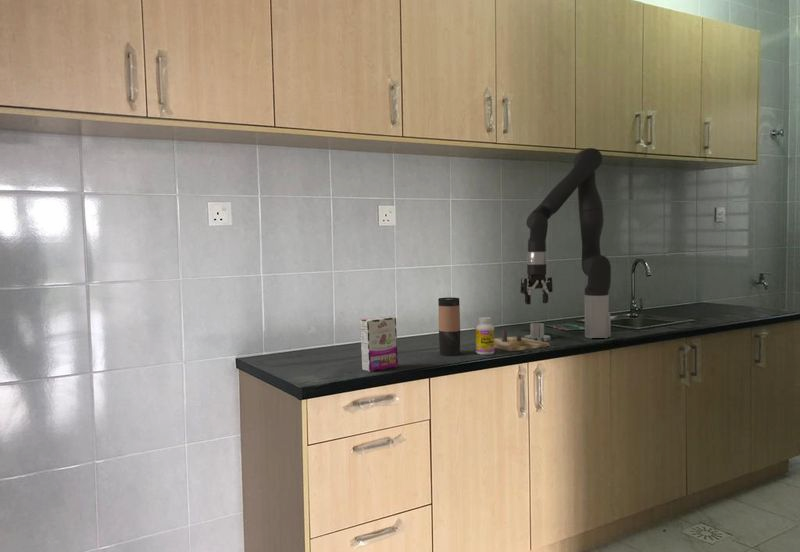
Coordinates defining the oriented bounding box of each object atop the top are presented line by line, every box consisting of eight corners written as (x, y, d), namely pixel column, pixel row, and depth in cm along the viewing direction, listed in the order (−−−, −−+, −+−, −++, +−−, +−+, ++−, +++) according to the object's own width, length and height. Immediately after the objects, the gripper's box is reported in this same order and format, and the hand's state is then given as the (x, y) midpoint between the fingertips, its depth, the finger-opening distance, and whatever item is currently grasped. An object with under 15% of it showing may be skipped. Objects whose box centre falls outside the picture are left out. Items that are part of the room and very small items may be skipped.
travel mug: (464, 353, 229) (463, 297, 228) (454, 356, 223) (452, 299, 221) (446, 351, 233) (444, 297, 232) (435, 355, 227) (434, 299, 226)
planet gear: (539, 336, 263) (538, 321, 262) (555, 339, 254) (555, 324, 253) (519, 338, 258) (519, 323, 258) (535, 342, 249) (535, 326, 249)
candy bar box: (389, 365, 211) (388, 315, 210) (398, 367, 207) (397, 317, 206) (360, 370, 204) (359, 318, 203) (369, 372, 200) (368, 320, 199)
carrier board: (514, 339, 258) (514, 324, 257) (549, 346, 239) (549, 331, 239) (477, 343, 249) (477, 328, 249) (510, 351, 231) (510, 335, 230)
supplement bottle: (479, 355, 224) (478, 319, 223) (473, 352, 230) (472, 317, 229) (497, 354, 225) (496, 318, 224) (490, 351, 231) (490, 316, 231)
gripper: (544, 262, 261) (544, 302, 262) (516, 263, 254) (516, 303, 255) (557, 263, 254) (556, 303, 255) (528, 263, 247) (528, 305, 248)
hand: (536, 303), depth 255 cm, fingers open, 8 cm apart
